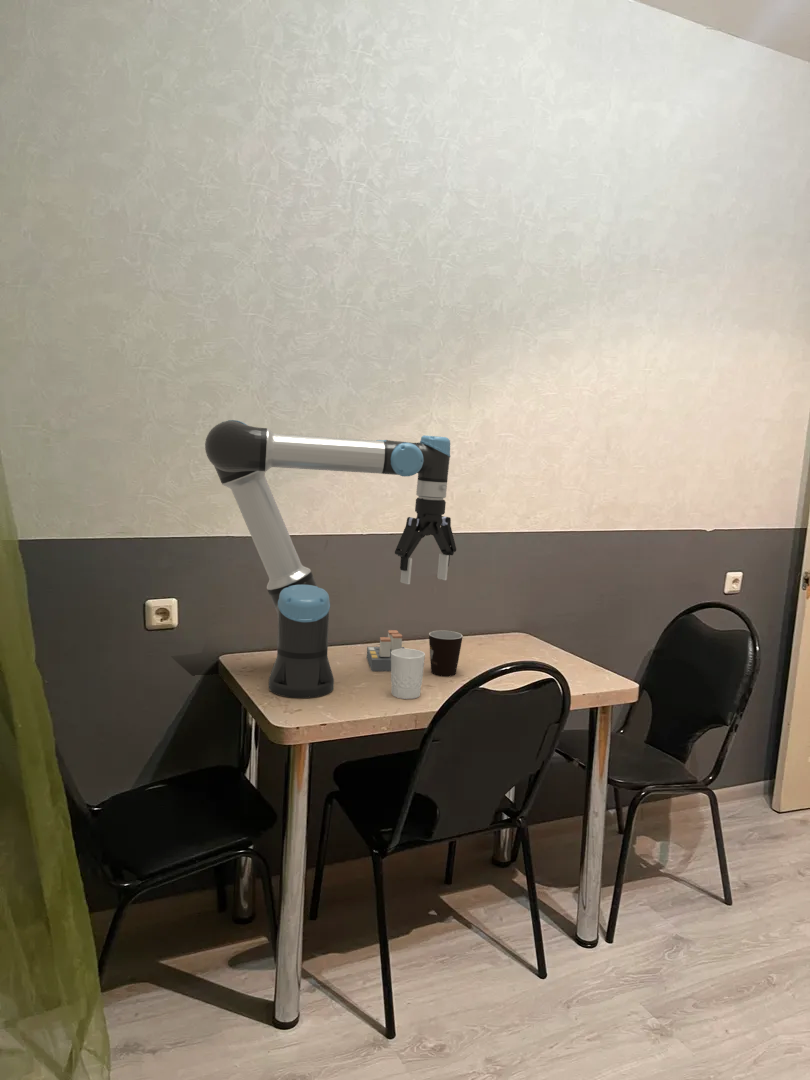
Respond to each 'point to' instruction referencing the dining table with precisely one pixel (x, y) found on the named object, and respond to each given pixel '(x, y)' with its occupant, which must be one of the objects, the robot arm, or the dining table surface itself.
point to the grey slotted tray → (378, 660)
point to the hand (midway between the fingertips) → (423, 581)
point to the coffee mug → (444, 652)
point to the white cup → (406, 673)
